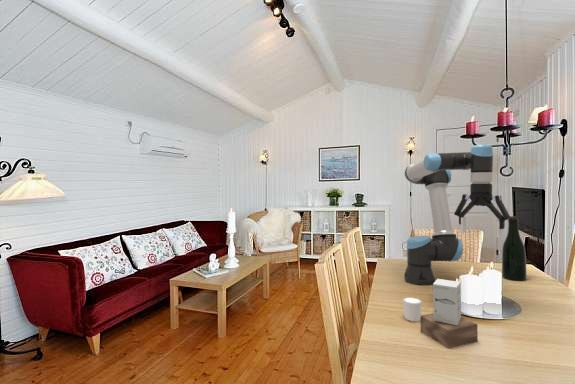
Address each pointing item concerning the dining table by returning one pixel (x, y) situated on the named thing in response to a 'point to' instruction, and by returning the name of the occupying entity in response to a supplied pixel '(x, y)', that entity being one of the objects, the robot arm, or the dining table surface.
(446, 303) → the supplement box
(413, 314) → the white cylinder
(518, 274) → the dark green bottle
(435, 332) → the walnut block
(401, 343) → the dining table surface
